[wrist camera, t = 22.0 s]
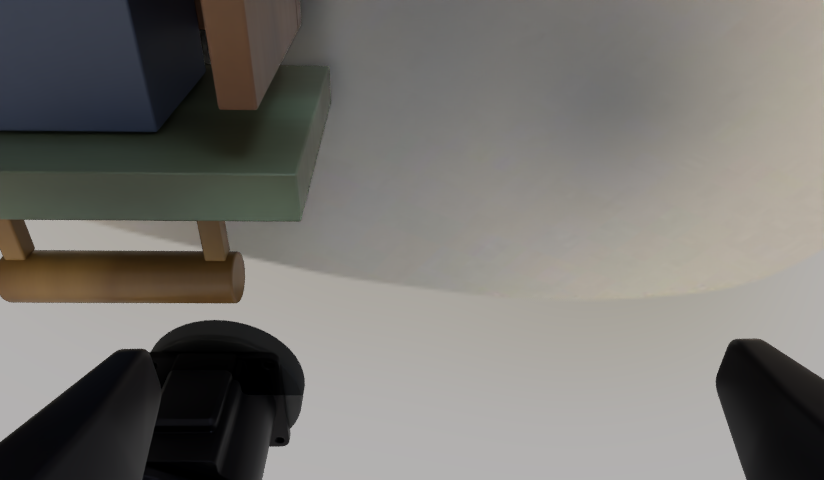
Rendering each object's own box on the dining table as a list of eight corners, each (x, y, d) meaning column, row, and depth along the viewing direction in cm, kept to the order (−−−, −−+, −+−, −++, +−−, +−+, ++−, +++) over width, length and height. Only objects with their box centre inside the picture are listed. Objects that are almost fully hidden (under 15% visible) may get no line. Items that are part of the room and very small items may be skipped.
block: (206, 72, 18) (157, 133, 14) (54, 70, 18) (-36, 131, 14) (177, -100, 15) (109, -80, 12) (0, -104, 15) (-125, -84, 12)
